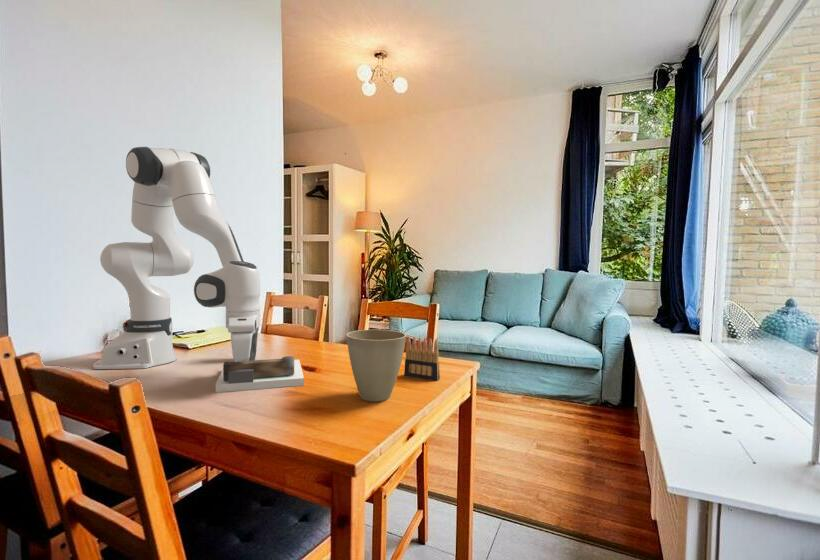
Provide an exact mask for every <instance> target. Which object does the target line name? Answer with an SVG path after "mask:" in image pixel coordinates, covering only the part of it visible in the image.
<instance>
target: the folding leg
mask: <svg viewBox="0 0 820 560" xmlns="http://www.w3.org/2000/svg"><path fill="white" fill-rule="evenodd" d="M294 360H295V356H291V355H289V356H287V355H286V356H283V357H282V358H271V359H270V358H269V359H255V360H253V361H246V362H234V361H224V362H223V365H222V367H223V368H222V370H223V381H228V372H229V370H243V369H253V378H258V377H270V376H283V375H285V376H288V375H293V374H294Z"/></svg>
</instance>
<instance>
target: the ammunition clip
mask: <svg viewBox="0 0 820 560" xmlns="http://www.w3.org/2000/svg"><path fill="white" fill-rule="evenodd" d="M432 340H433V339H432V338H430V337H429V341H428V342H427V338H426V337H424V339H423V340H422V338H421V336H419V337H418V340H416V337H415V336H413V337H412V341H411V337H410V335H408V336H407V337H406V347H405V359H404V370H403V371H404V373H403V375H404V377H407V378H415V379H420V380H428V381H434V382H437V381H439V380H440V376H441V375H440V361H439V358H440V357H439V355H440V354H439V343H438V342H439V341H438V339H437V338H435V340H434V341H432ZM433 342H434V343H433Z"/></svg>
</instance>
